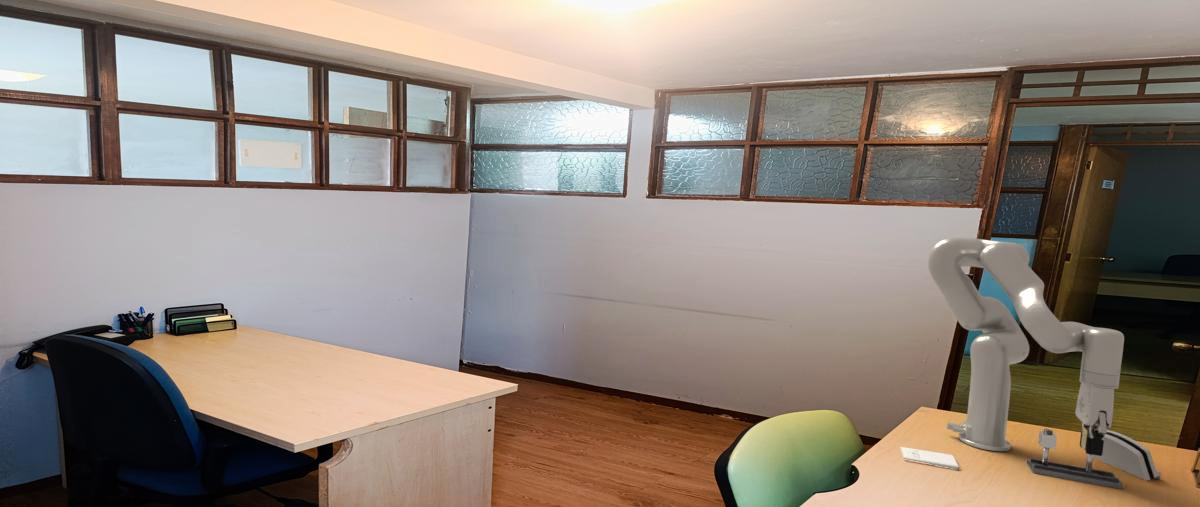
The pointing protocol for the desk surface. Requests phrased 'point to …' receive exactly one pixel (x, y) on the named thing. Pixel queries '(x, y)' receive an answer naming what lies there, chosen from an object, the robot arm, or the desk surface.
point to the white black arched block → (1128, 456)
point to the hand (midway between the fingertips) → (1090, 450)
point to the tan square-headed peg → (1083, 444)
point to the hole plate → (1068, 466)
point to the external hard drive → (929, 457)
